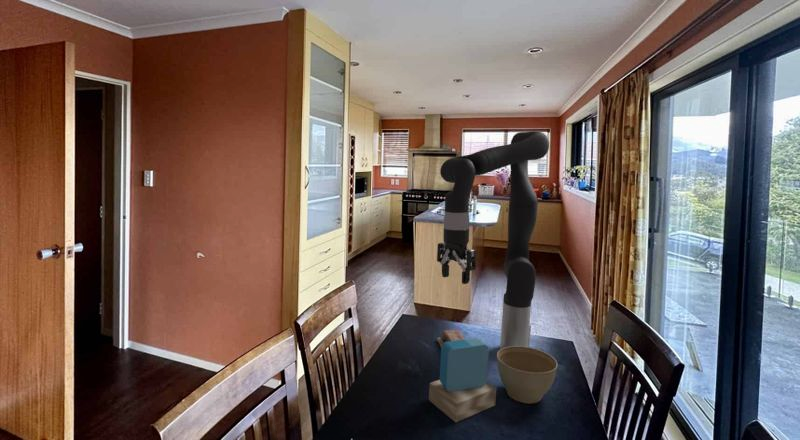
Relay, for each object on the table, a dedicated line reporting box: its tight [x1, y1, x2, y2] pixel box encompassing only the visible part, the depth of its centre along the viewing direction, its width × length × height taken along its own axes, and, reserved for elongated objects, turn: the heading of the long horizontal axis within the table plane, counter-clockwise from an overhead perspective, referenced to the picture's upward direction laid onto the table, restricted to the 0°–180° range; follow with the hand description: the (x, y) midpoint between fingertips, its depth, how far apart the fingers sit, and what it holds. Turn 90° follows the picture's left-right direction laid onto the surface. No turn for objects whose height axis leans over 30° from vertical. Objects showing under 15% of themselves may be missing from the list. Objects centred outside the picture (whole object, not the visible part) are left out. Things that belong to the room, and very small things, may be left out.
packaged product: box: [436, 329, 466, 348], centre depth 137 cm, size 18×5×10 cm
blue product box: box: [439, 337, 490, 392], centre depth 106 cm, size 12×4×12 cm, turn 109°
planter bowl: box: [496, 346, 558, 404], centre depth 112 cm, size 16×16×11 cm
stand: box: [428, 379, 497, 423], centre depth 107 cm, size 14×11×5 cm
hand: (455, 280), depth 119 cm, fingers open, 8 cm apart
